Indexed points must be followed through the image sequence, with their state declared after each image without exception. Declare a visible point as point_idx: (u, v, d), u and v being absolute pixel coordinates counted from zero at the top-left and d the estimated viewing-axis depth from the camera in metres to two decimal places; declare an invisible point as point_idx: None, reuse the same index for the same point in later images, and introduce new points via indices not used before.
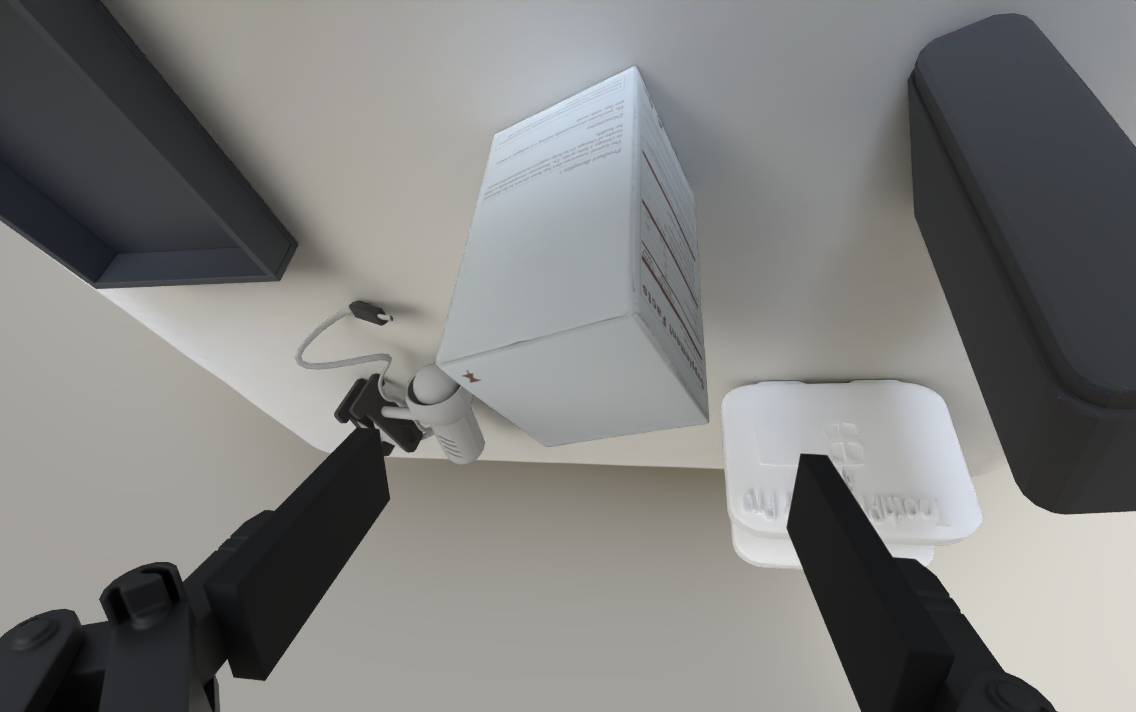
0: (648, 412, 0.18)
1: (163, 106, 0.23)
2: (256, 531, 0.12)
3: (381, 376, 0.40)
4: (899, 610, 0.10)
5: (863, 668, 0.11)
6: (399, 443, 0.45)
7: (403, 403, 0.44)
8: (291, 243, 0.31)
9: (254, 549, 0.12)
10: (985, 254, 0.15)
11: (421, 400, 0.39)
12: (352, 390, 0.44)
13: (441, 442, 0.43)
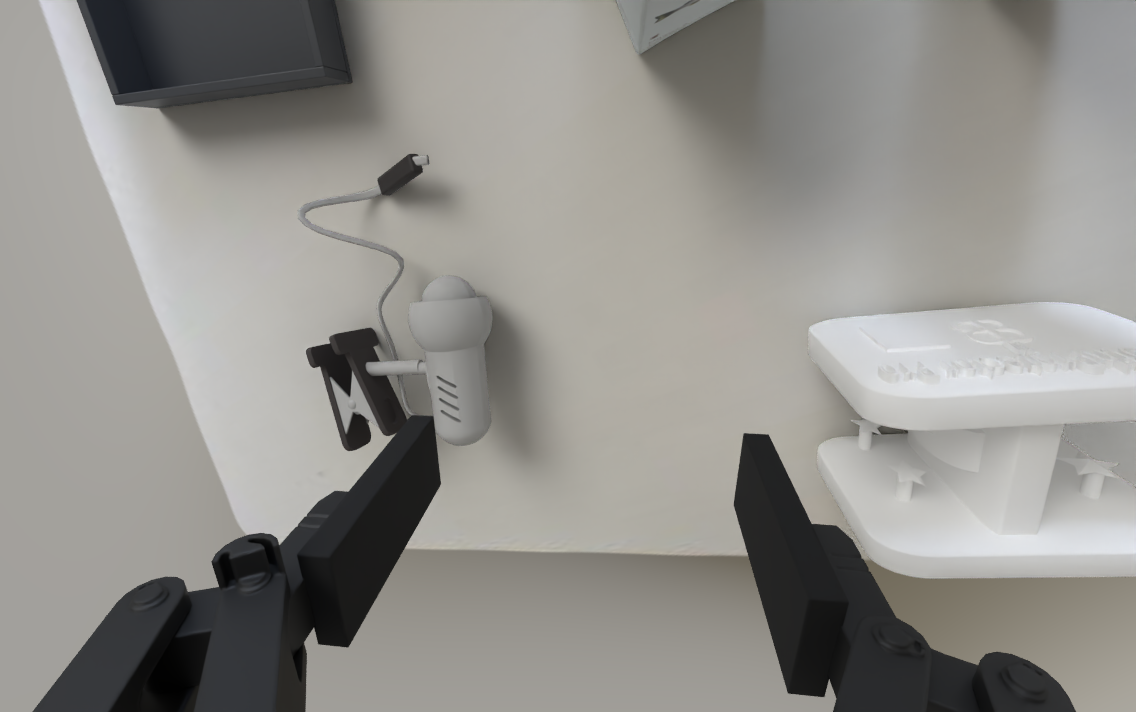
0: None
1: None
2: (336, 508, 0.13)
3: (384, 291, 0.33)
4: (806, 565, 0.11)
5: (780, 621, 0.12)
6: (376, 413, 0.34)
7: (396, 360, 0.35)
8: (347, 72, 0.30)
9: (338, 524, 0.12)
10: None
11: None
12: None
13: (437, 393, 0.32)
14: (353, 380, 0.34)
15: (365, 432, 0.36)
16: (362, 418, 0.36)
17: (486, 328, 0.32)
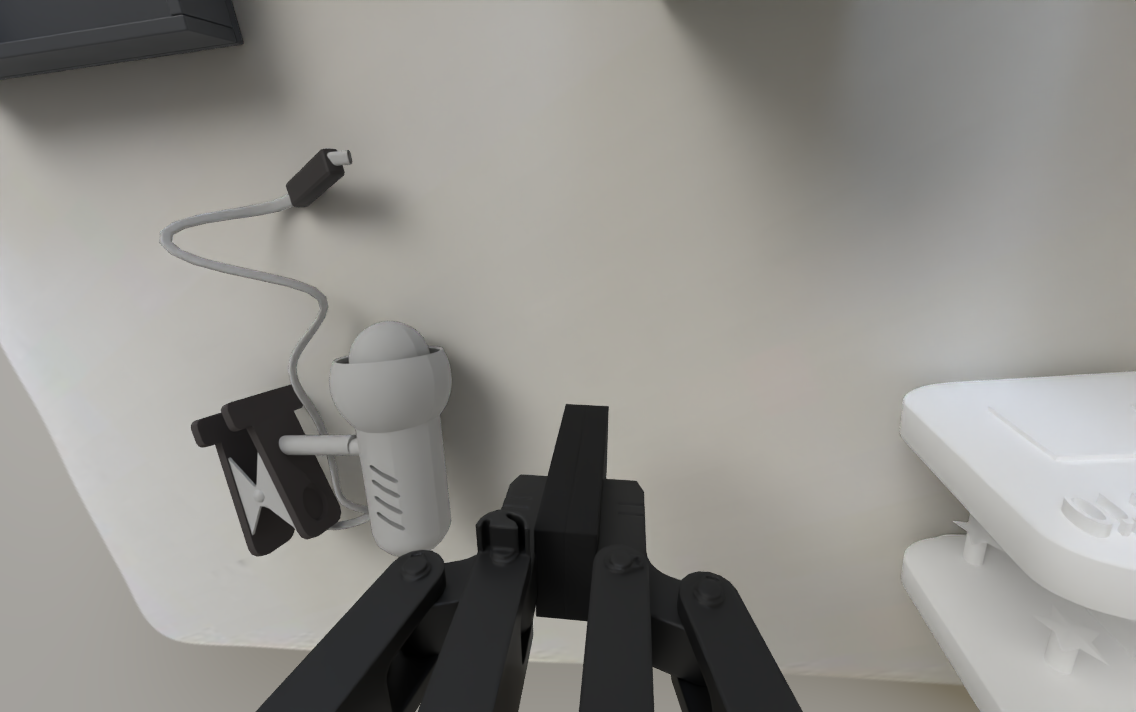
0: None
1: None
2: (546, 488, 0.14)
3: (300, 341, 0.23)
4: (578, 508, 0.13)
5: None
6: (291, 509, 0.24)
7: (323, 433, 0.25)
8: (233, 28, 0.20)
9: (556, 502, 0.13)
10: None
11: None
12: None
13: (371, 488, 0.23)
14: (259, 464, 0.24)
15: (285, 525, 0.27)
16: None
17: (441, 397, 0.22)
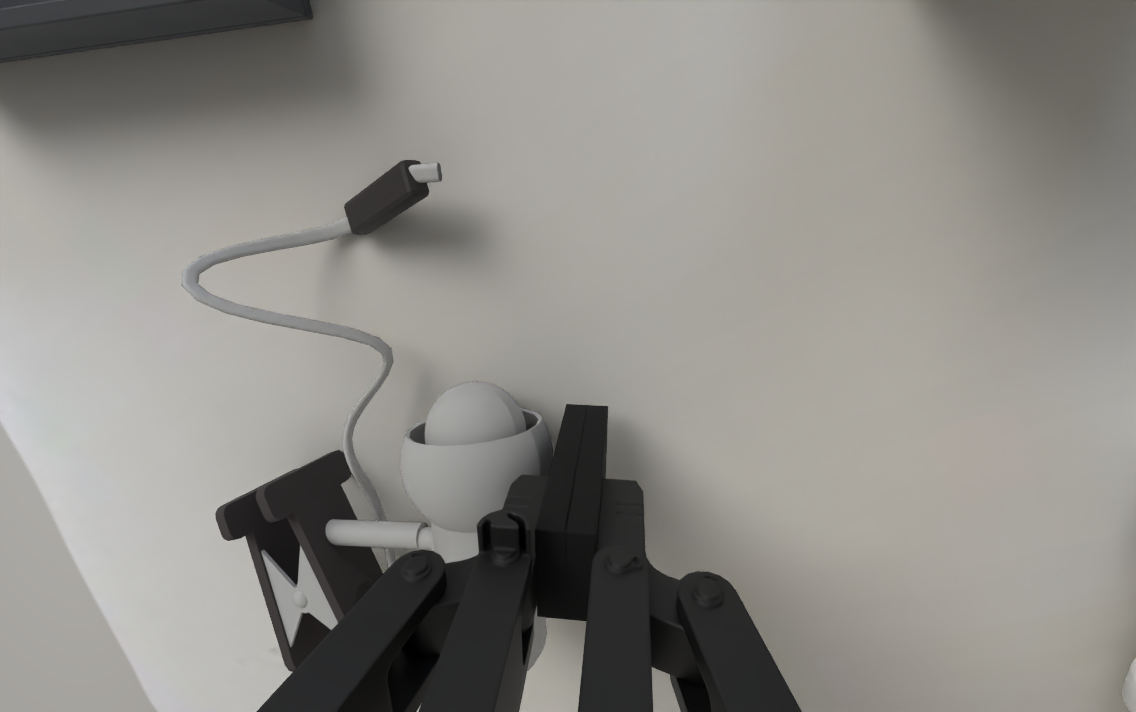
0: None
1: None
2: (546, 489, 0.14)
3: (358, 406, 0.18)
4: (577, 508, 0.13)
5: None
6: None
7: (380, 515, 0.20)
8: None
9: (557, 503, 0.13)
10: None
11: (440, 445, 0.16)
12: (277, 479, 0.21)
13: None
14: (302, 560, 0.19)
15: None
16: None
17: None
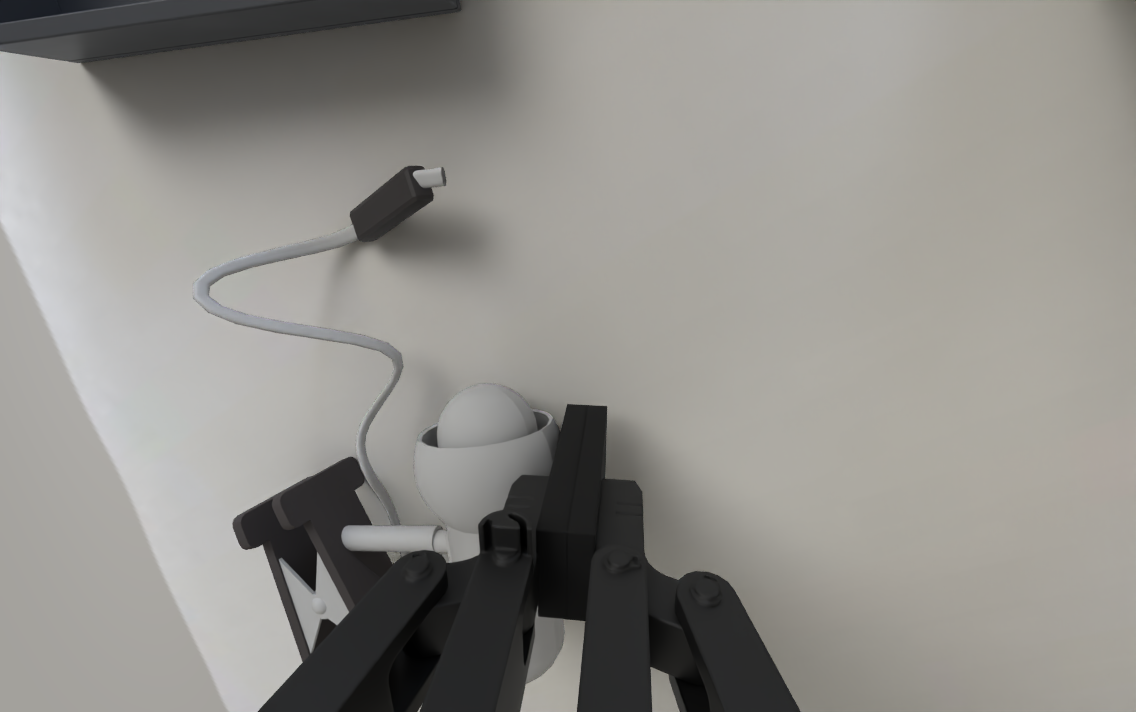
0: None
1: None
2: (547, 489, 0.14)
3: (370, 411, 0.18)
4: (576, 508, 0.13)
5: None
6: None
7: (395, 520, 0.20)
8: None
9: (557, 503, 0.13)
10: None
11: (453, 448, 0.17)
12: (292, 487, 0.21)
13: None
14: (319, 567, 0.19)
15: None
16: None
17: None
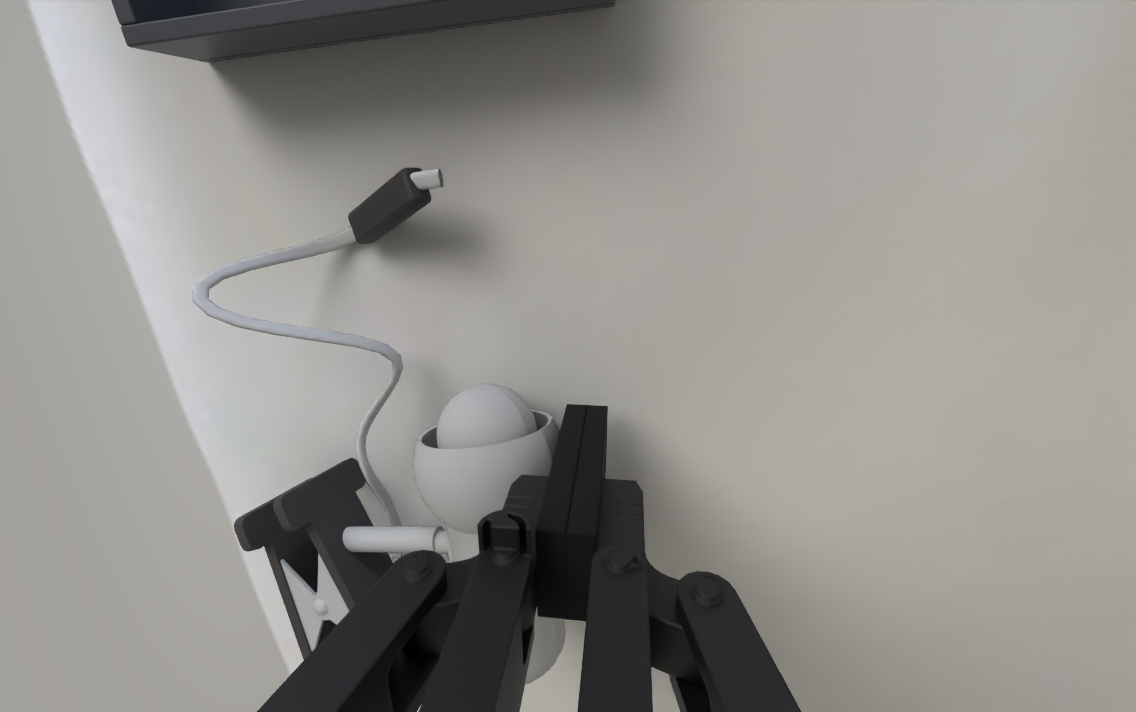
0: None
1: None
2: (547, 489, 0.14)
3: (369, 413, 0.18)
4: (576, 508, 0.13)
5: None
6: None
7: (396, 521, 0.20)
8: None
9: (557, 503, 0.13)
10: None
11: (452, 448, 0.17)
12: (293, 489, 0.21)
13: None
14: (321, 568, 0.19)
15: None
16: None
17: None
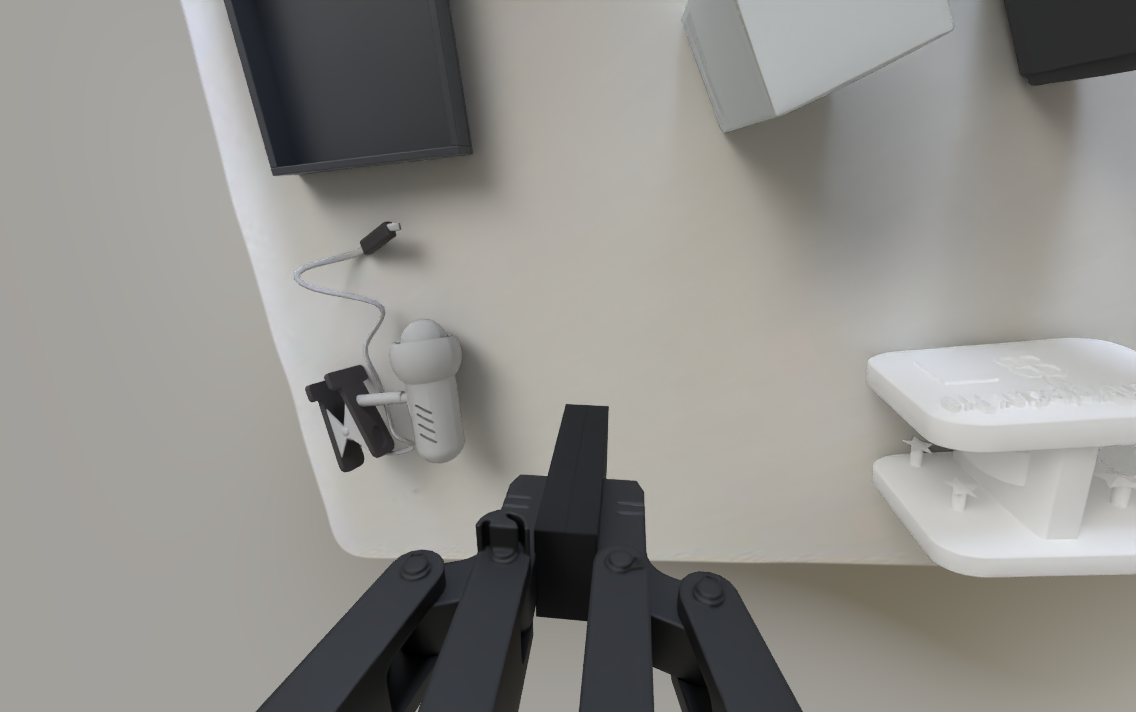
0: (898, 4, 0.20)
1: None
2: (546, 488, 0.14)
3: (369, 334, 0.39)
4: (578, 508, 0.13)
5: None
6: (366, 438, 0.39)
7: (383, 392, 0.41)
8: (470, 146, 0.35)
9: (556, 503, 0.13)
10: None
11: None
12: None
13: (416, 419, 0.38)
14: (346, 411, 0.39)
15: (359, 455, 0.42)
16: (355, 443, 0.42)
17: (455, 362, 0.38)
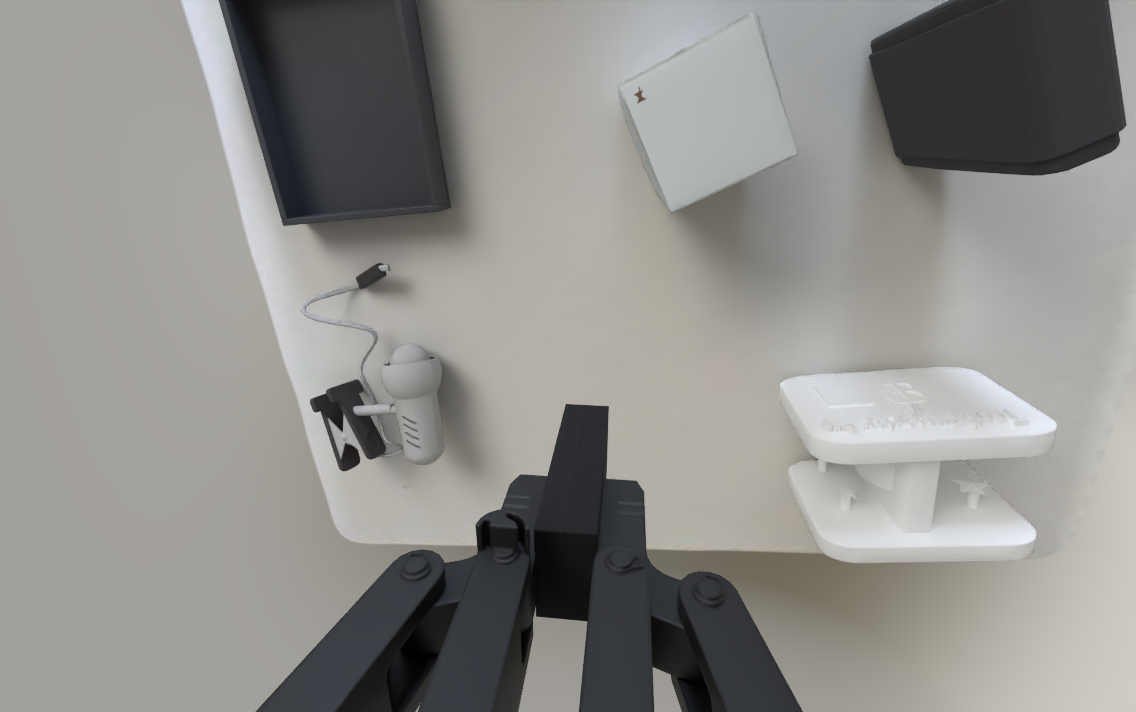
0: (755, 136, 0.27)
1: (423, 73, 0.38)
2: (546, 488, 0.14)
3: (364, 355, 0.46)
4: (578, 508, 0.13)
5: None
6: (361, 443, 0.46)
7: (376, 404, 0.48)
8: (448, 201, 0.42)
9: (556, 502, 0.13)
10: (940, 29, 0.27)
11: None
12: None
13: (403, 428, 0.45)
14: (344, 420, 0.47)
15: (355, 456, 0.49)
16: (352, 446, 0.49)
17: (436, 381, 0.45)
